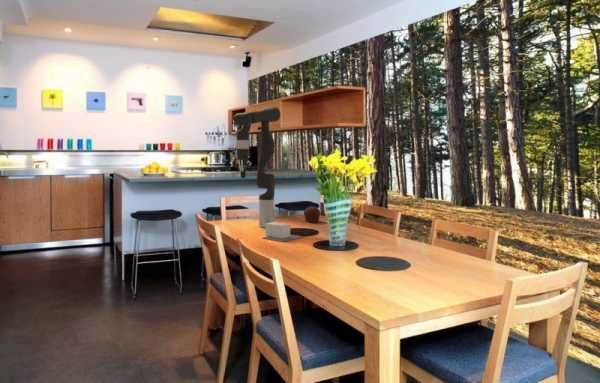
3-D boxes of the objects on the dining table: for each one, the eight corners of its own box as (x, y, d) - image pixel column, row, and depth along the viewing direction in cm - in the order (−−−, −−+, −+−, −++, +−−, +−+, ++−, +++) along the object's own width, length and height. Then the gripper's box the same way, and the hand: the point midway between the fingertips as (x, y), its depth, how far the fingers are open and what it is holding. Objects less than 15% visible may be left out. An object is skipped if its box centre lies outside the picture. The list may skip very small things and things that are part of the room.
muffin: (302, 220, 332) (302, 205, 331) (318, 220, 333) (319, 205, 332) (304, 223, 320) (305, 208, 319) (321, 222, 321) (321, 207, 320)
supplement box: (274, 234, 276) (290, 237, 268) (264, 236, 271) (281, 239, 262) (274, 221, 275) (290, 224, 267) (265, 222, 270) (281, 225, 261)
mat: (283, 234, 280) (283, 233, 280) (303, 237, 270) (303, 236, 270) (262, 238, 267) (262, 237, 267) (283, 242, 257) (282, 241, 257)
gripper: (255, 148, 278) (255, 178, 280) (239, 147, 287) (239, 177, 288) (246, 148, 272) (246, 179, 274) (230, 148, 281) (230, 177, 282)
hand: (243, 178), depth 281 cm, fingers closed
